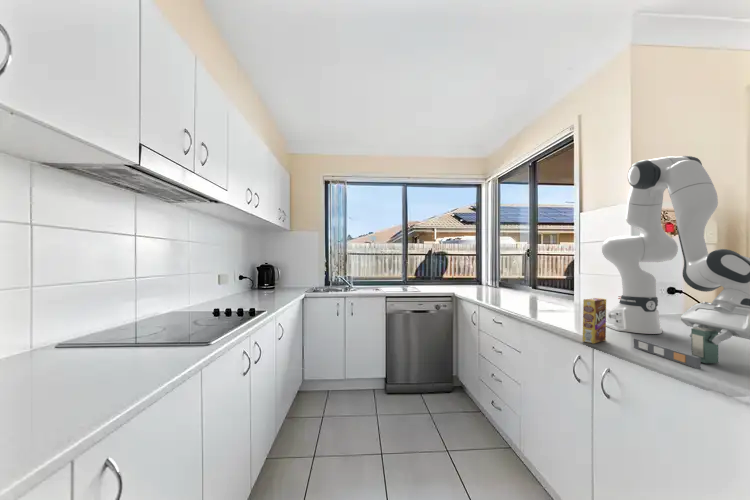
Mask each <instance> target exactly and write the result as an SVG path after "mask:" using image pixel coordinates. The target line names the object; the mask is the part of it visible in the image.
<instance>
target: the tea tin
mask: <svg viewBox="0 0 750 500" xmlns="http://www.w3.org/2000/svg"><path fill="white" fill-rule="evenodd" d="M690 328H691V329H690V330H691V333H690V334H691V337H690V338H691V355H694V356H698V357H701V363H703V364H718V363H719V344H718V345H715V344H711V342H709V338H711V336H716V335H718V334H719V333H718V331H716V330H715V329H710V328H706V327H690Z"/></svg>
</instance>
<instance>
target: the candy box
mask: <svg viewBox="0 0 750 500" xmlns="http://www.w3.org/2000/svg"><path fill="white" fill-rule="evenodd" d="M582 302H583V304H582V305H583V308H582V314H583V316H582V342H585V343H589V344H592V345H593V344H598V343H601V342H605V341H606V340H607V339H606V338H607V335H606V333H607V326H606V321H607V298H602V297H601V298H600V297H592V298H587V299H585V298H584V299H583V301H582Z"/></svg>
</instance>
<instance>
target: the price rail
mask: <svg viewBox="0 0 750 500" xmlns="http://www.w3.org/2000/svg"><path fill="white" fill-rule="evenodd" d="M633 348H635V349H637V350H641V351H643V352H647V353H650V354H652V353H653V354H652V355H656V356H658V357H662V358H664V359H667V360H670V361H673V362H676V363H679V364H682V365H686V366H688V367H692V368H693V369H702V365H701V363H702V362H701V357H698V356H694V355H692V353H691V354H690V353H687V352H684V351H680V350H678V349H677V350H676V349H673V348H671V347H667V346H663V345H661V344H657V343H654V342H650V341H647V340H644V339H640V338H638V337H637V338H633Z"/></svg>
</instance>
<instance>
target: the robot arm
mask: <svg viewBox="0 0 750 500" xmlns="http://www.w3.org/2000/svg"><path fill="white" fill-rule="evenodd" d="M627 181H628V183H629V185H630V189H629V191H628V192H629V193H628V197H627V206H626V214H625V220H626V223H627V224H628V225H629V226H630V227H632V228H635V229H636V230H637V229H638V230H639V235H618V236H613V237H609V238H607V239H606V240H604V241H603V243H602V247H601V253H602V255H603V257H604V258H605V259H606V260H607V261H608V262H610V263H611V264H613V266H615V267H616V268H617V270H618V272H619V274H620V277H621V285H622V286H621V287H622V295H620V296H618V298H617V299H618V300H619V302H618V303H619V304H617V305H616V306H614V307H613V308H612V309H610V310H609V311H608V313H607V319H606V328H610V329H612V330H614V331H617V332H618V331H619V332H628V333H635V334H647V335H648V334H649V335H652V334H653V335H654V334H655V335H656V334H657V335H658V334H662V333H663V332H662V331H664V330H663V327H661V319H660V312H659V310H658V306H659V304H658V303H659V300H658V299H659V298H658V297H657V280H656V277H655V276H654V275H653V274H652V273H650V272H648V271H645V270H644V269H642V268H641V267H640V263H663V262H669V261H673V259H674V258H675V257H676V256H677V254H678V252H679V246H678V243H677V241H676V240H675V239H674V238H673V237H671V236H670V235H668V234H667V233H666V231H665V230H664V228H663V225H662V210H663V209H662V208H663V203H664V202H663V201H664V193H665V191H666V190H667V191H668V192H667V193H668V195H669V197H670V201H671V205H672V207H673V212H674V215H675V220H676V221H675V222H676V223H675V224H676V230H677V236H678V240H679V244H680V248H681V252H682V258H683V268H682V278H683V281H684V282H685V284H687V286H689V287H690V288H692V289H693V290H697V291H699V292H707V293H708V292H712V291H716V290H717V289H718V288H721V287H722V288H723V289H722V290H721V292H719V294H718V295H717V296H716V297H715V298H714V299H713V300H712V302H708V301H702V302H700V303H696V304H693V305H692V306H690V307H689V308H688V309H686V310H685V311H684V312H683V313H682V314H681V315H680V321H681V322H682V323H683V324H684V325H686V327H689V328H693V327H706V328H710V329H715V330H716V331H718V335H716V336H711V338H709V342H711V344H715V345H718V346H719V344H721V342H723V341H726V340H728V339H731V337H737V338H741V339H745V340H750V257H748V256H744V255H741V254H739V253H737V251H734V250H731V249H725V248H724V249H723V248H722V249H721V248H720V249H715V250H713V251H711V252H709V251H708V248H707V243H706V240H705V234H704V233H705V228H706V225H707V224H708V221H709V220H710V219H711V216H712V215H713V214H714V213H715V211H716V210H717V208H718V205H719V199H718V193H717V190H716V187H715V185H714V183H713V181H712V178H711V177H710V175H709V173H708V171H707V170H706V169H705V167H704V166H703V164H702V161H701V160H700V159H699V158H698V157H695V156H691V155H689V156H688V155H683V156H664V157H658V158H652V159H643V160H642V159H641V160H639V161H636V162H634V163H633V164H632V165H631V166H630V168H629V170H628V172H627ZM689 337H690V338H691V333H690V334H689Z"/></svg>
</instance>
